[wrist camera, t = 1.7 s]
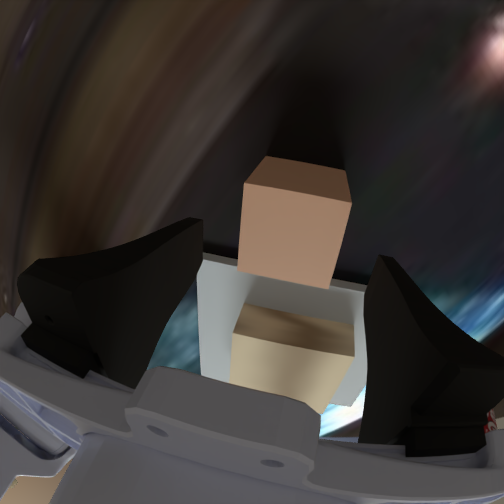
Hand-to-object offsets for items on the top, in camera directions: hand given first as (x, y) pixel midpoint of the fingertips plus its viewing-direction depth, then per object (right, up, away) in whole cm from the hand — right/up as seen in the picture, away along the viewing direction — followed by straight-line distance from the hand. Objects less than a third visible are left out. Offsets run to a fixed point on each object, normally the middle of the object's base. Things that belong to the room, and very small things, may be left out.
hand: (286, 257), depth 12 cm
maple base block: (+2, -8, +11) cm, 13 cm away
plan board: (+2, -7, +12) cm, 14 cm away
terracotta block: (+1, +3, +5) cm, 7 cm away
